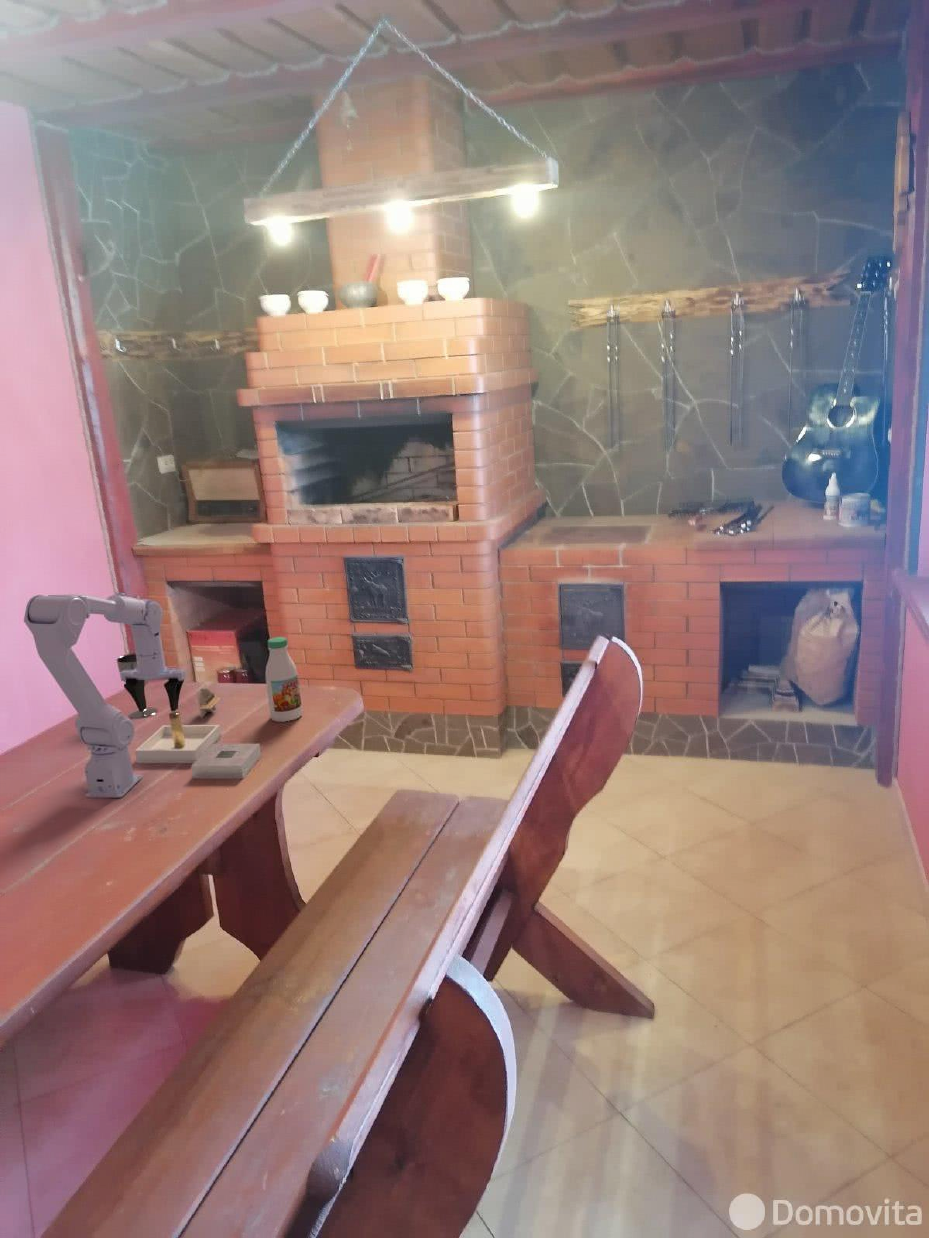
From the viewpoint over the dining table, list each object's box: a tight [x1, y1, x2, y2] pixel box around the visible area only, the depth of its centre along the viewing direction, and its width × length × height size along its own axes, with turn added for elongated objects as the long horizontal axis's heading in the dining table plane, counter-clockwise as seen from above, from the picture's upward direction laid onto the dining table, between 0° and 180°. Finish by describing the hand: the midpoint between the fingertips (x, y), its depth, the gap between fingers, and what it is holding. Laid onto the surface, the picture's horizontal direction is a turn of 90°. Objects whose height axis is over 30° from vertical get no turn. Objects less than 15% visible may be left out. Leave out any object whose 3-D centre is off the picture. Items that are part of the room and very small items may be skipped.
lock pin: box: [168, 711, 185, 749], centre depth 204 cm, size 2×2×8 cm
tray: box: [134, 724, 222, 764], centre depth 205 cm, size 14×14×3 cm
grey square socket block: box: [191, 743, 262, 780], centre depth 194 cm, size 11×11×3 cm
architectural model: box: [196, 683, 221, 719], centre depth 225 cm, size 3×7×7 cm, turn 176°
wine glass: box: [116, 652, 159, 720], centre depth 227 cm, size 8×8×15 cm
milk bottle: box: [265, 636, 303, 723], centre depth 218 cm, size 8×8×20 cm
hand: (158, 709), depth 202 cm, fingers open, 7 cm apart
